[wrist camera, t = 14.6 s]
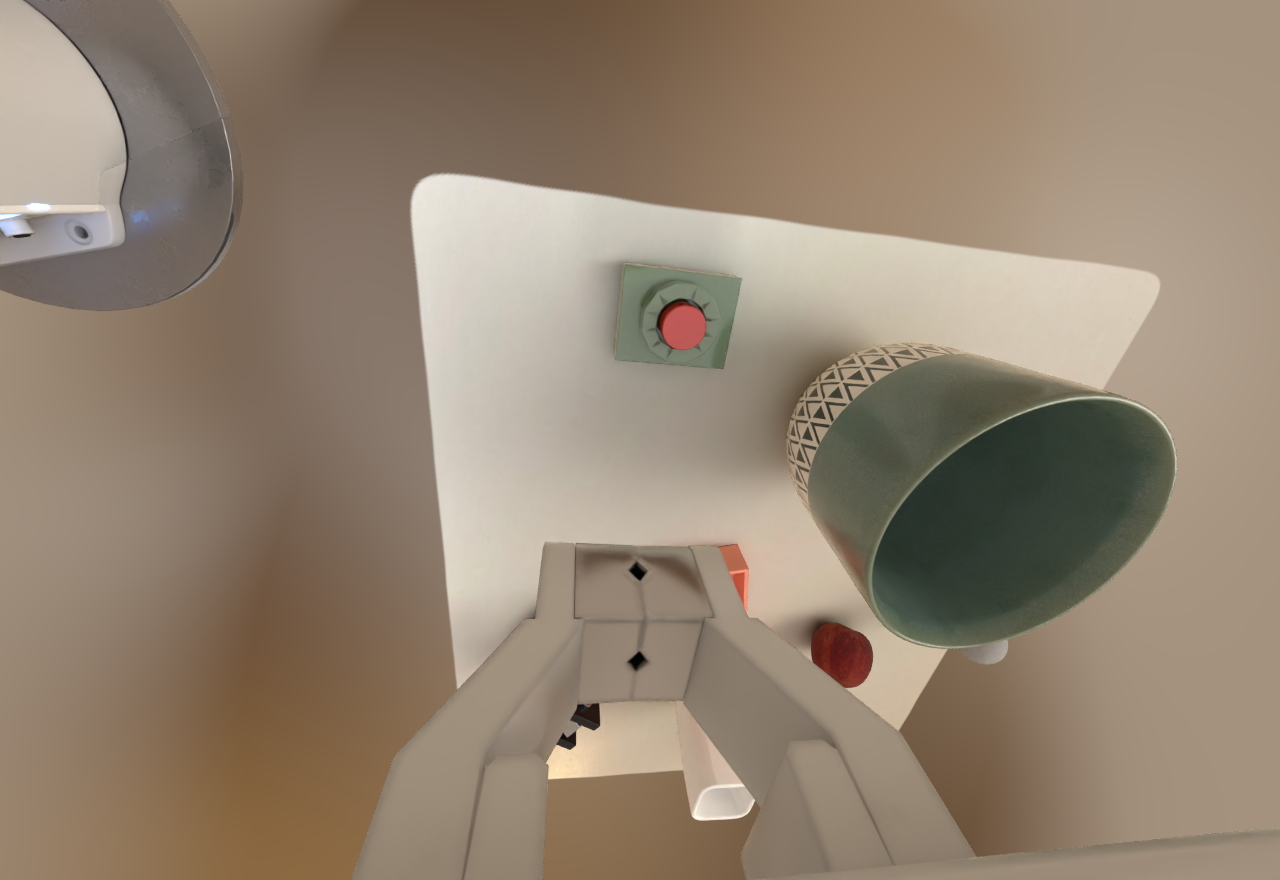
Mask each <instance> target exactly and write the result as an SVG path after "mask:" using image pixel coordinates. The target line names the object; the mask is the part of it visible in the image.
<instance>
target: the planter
mask: <svg viewBox="0 0 1280 880" xmlns="http://www.w3.org/2000/svg"><path fill="white" fill-rule="evenodd" d="M787 460H788V465H789V470H790V474H791V477H792V480H793V483H794V486H795V488H796V491H797V493H798V495H799V497H800V498H801V500H802V502H803V504H804V506H805V508H806V509H807V511H808V512H809V514H810V515H811V517H812V519H813V520H814V522H815V523H816V525H817V527H818V528H819V530H820V531H821V533H822V535H823V536H824V538H825V539H826V541H827V542H828V544H829V545H830V547H831V548H832V550H833V551H834V553H835V554H836V556H837V557H838V559H839V560H840V562H841V564H842V565H843V567H844V568H845V570H846V572H847V573H848V575H849V576H850V578H851V580H852V581H853V583H854V585H855V586H856V588H857V589H858V591H859V592H860V593H861V595H862V596H863V598H864V599H865V601H866V602H867V604H868V605H869V607H870V608H871V610H872V611H873V613H874V614H875V615H876V617H877V618H878V620H879V621H880V622H881V623H882V624H883V625H884V626H885V627H886V628H887V629H888V630H889V631H890V632H892V633H893V634H895V635H896V636H898V637H900V638H902V639H903V640H906V641H908V642H911V643H914V644H917V645H921V646H925V647H931V648H940V649H961V648H971V647H978V646H984V645H988V644H993V643H997V642H1000V641H1004V640H1007V639H1010V638H1013V637H1016V636H1019V635H1022V634H1024V633H1027V632H1029V631H1032V630H1034V629H1036V628H1038V627H1040V626H1043V625H1045V624H1047V623H1049V622H1051V621H1052V620H1054V619H1056V618H1058V617H1060V616H1062V615H1063V614H1065V613H1067V612H1068V611H1070V610H1071V609H1073V608H1075V607H1076V606H1078V605H1079V604H1081V603H1082V602H1084V601H1085V600H1087V599H1088V598H1089V597H1091V596H1092V595H1093V594H1095V593H1096V592H1097V591H1098V590H1100V589H1101V588H1102V587H1103V586H1105V585H1106V584H1107V583H1108V582H1109V581H1110V580H1111V579H1113V578H1114V577H1115V576H1116V575H1117V574H1118V573H1119V572H1120V571H1121V570H1122V569H1123V568H1124V567H1125V566H1126V565H1127V564H1128V563H1129V562H1130V561H1131V560H1132V559H1133V558H1134V556H1135V555H1136V554H1137V553H1138V551H1139V550H1140V549H1141V548H1142V547H1143V545H1144V544H1145V543H1146V541H1147V540H1148V539H1149V537H1150V536H1151V535H1152V533H1153V531H1154V530H1155V528H1156V527H1157V525H1158V523H1159V522H1160V520H1161V518H1162V516H1163V514H1164V512H1165V510H1166V508H1167V506H1168V503H1169V501H1170V498H1171V495H1172V492H1173V488H1174V484H1175V480H1176V474H1177V452H1176V447H1175V443H1174V439H1173V437H1172V435H1171V432H1170V430H1169V429H1168V427H1167V425H1166V424H1165V423H1164V422H1163V420H1162V419H1161V418H1160V417H1159V416H1158V415H1157V414H1156V413H1155V412H1154V411H1152V410H1151V409H1149V408H1148V407H1146V406H1145V405H1142V404H1141V403H1139V402H1136V401H1134V400H1131V399H1128V398H1126V397H1123V396H1120V395H1116V394H1113V393H1110V392H1107V391H1103V390H1100V389H1097V388H1094V387H1090V386H1087V385H1084V384H1080V383H1077V382H1073V381H1069V380H1065V379H1061V378H1057V377H1054V376H1050V375H1046V374H1043V373H1039V372H1035V371H1032V370H1029V369H1025V368H1022V367H1018V366H1015V365H1012V364H1008V363H1005V362H1001V361H998V360H994V359H990V358H986V357H982V356H979V355H975V354H971V353H968V352H964V351H960V350H957V349H953V348H948V347H943V346H938V345H931V344H916V343H900V344H888V345H881V346H876V347H872V348H868V349H864V350H861V351H859V352H856V353H854V354H851V355H849V356H847V357H845V358H843V359H841V360H840V361H838V362H836V363H835V364H833V365H832V366H830V367H829V368H828V369H826V370H825V371H824V372H823V373H822V374H820V375H819V376H818V377H817V378H816V379H815V380H814V381H813V382H812V383H811V385H810V386H809V387H808V388H807V389H806V391H805V392H804V394H803V395H802V396H801V398H800V400H799V401H798V403H797V405H796V407H795V409H794V412H793V414H792V417H791V420H790V423H789V427H788V433H787Z"/></svg>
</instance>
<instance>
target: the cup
mask: <svg viewBox="0 0 1280 880" xmlns="http://www.w3.org/2000/svg"><path fill="white" fill-rule="evenodd" d="M683 703H684V701H676V713H677V725H678V735H679V743H680V750H681V758H682V764H683V770H684V777H685V783H686V788H687V794H688V799H689V804H690V810H691V815H692V816H693V818H694V819H697V820H717V819H718V820H719V819H735V818H740V817H742V816H745V815H746V814H747V813H748V812H749V811H750V809H751V807H752V805H753V803H754V801H755V799H754V798H753V797H752V795H751V794H750V793H749V791H748V790H747V789H746V787H745V786H744V785H743V783H742V782H741V781H740V779H739V778H738V777H737V775H736V774H735V773H734V771H733V770H732V769H731V767H730V766H729V764H728V763H727V762H726V760H725V759H724V758H723V756H722V755H721V754H720V752H719V751H718V750H717V748H716V747H715V746H714V744H713V743H712V742H711V740H710V739H709V738H708V736H707V735H706V734H705V732H704V731H703V730H702V728H701V727H700V726H699V724H698V723H697V722H696V720H695V719H694V718H693V716H692V715H691V713H690V712H689V711H688V709H687V708H686V707H685V705H684V704H683Z"/></svg>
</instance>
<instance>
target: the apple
mask: <svg viewBox="0 0 1280 880" xmlns="http://www.w3.org/2000/svg"><path fill="white" fill-rule="evenodd" d="M811 655H812V660H813V663H814V664H815V665H817V666H818V667H819V668H820V669H822V670H823V671H824V672H825V673H826V674H828V675H829V676H830V677H831V678H833V679H834V680H835V681H836V682H838V683H839V684H840V685H841V686H843V687H845V688H852V687H856V686H859V685H860V684H862V683H863V682H864V681H865V679H866V678H867V676H868V675H869V673H870V670H871V667H872V662H873V652H872V647H871V644H870V642H869V640H868V639H867V638H866V637H865V636H864V635H863V634H861V633H860V632H857V631H854V630H851V629H850V628H848V627H845V626H843V625H841V624H838V623H826V624H824V625H822V626H821V627H819V628H818V629H817V630H816V631H815V633H814V635H813V638H812V642H811Z"/></svg>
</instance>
